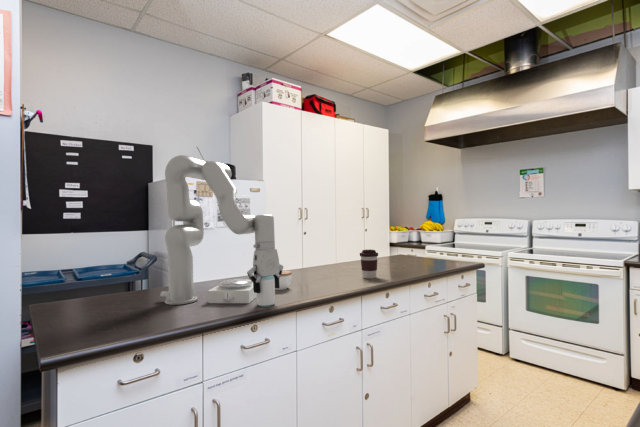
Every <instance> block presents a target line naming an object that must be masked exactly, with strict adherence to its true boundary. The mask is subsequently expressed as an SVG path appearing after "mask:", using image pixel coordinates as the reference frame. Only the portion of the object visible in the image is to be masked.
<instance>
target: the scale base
mask: <svg viewBox="0 0 640 427" xmlns="http://www.w3.org/2000/svg"><path fill="white" fill-rule="evenodd" d="M255 299H257V293H254V290H253V282H252V284H251V285H248V286H244V287H234V288H225V287H219V286H218V285H216V286H214V287H212V288H210V289H208V290H207V304H250V303H251V302H253V301H254V300H255Z"/></svg>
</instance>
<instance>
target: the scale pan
mask: <svg viewBox="0 0 640 427" xmlns="http://www.w3.org/2000/svg"><path fill="white" fill-rule="evenodd" d="M252 283H253V282H252V281H251V280H250V279H247V278H234V279H233V278H231V279H225V280H221V281H219V282H218V283H217V286H219V287H225V288H234V287H244V286H248V285H251V284H252Z"/></svg>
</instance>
